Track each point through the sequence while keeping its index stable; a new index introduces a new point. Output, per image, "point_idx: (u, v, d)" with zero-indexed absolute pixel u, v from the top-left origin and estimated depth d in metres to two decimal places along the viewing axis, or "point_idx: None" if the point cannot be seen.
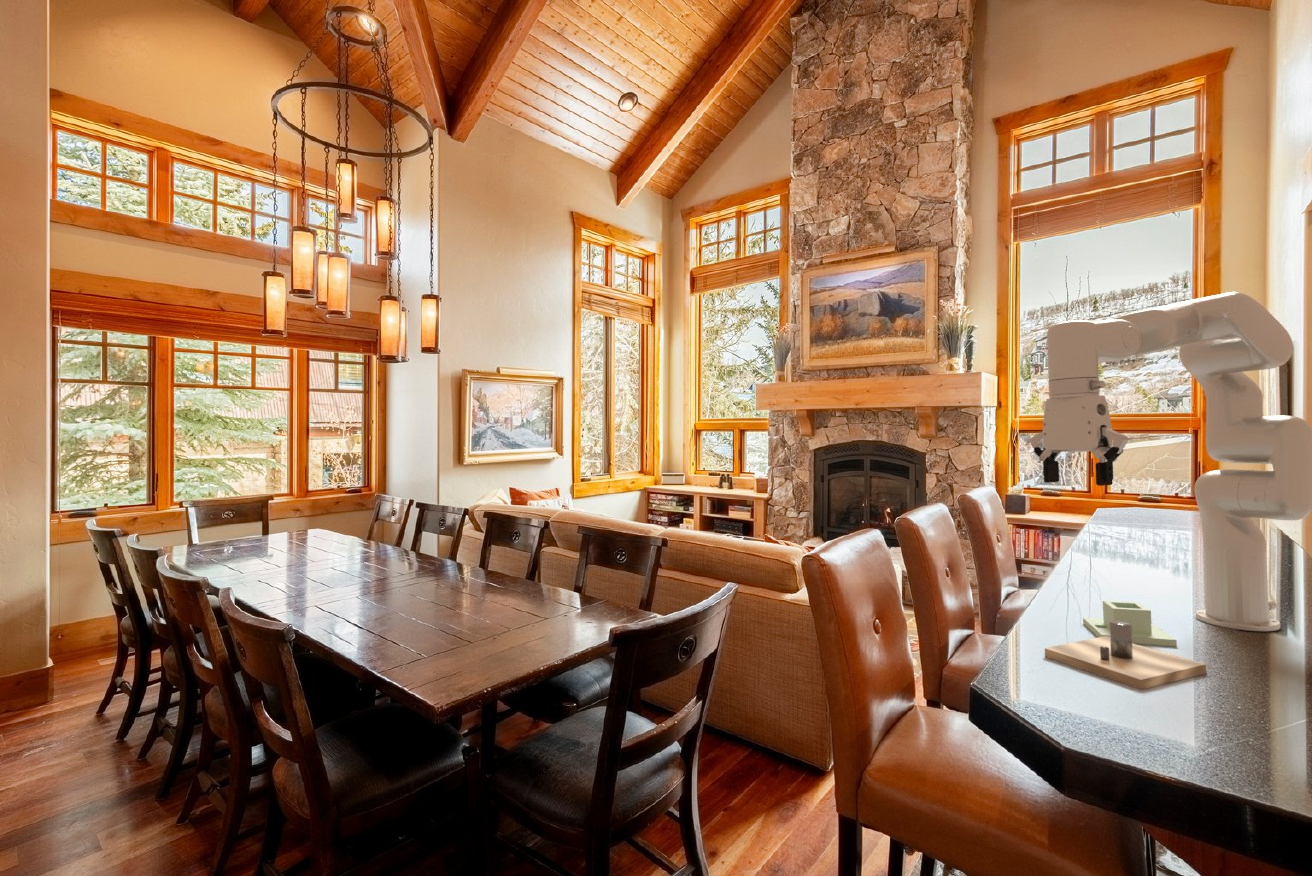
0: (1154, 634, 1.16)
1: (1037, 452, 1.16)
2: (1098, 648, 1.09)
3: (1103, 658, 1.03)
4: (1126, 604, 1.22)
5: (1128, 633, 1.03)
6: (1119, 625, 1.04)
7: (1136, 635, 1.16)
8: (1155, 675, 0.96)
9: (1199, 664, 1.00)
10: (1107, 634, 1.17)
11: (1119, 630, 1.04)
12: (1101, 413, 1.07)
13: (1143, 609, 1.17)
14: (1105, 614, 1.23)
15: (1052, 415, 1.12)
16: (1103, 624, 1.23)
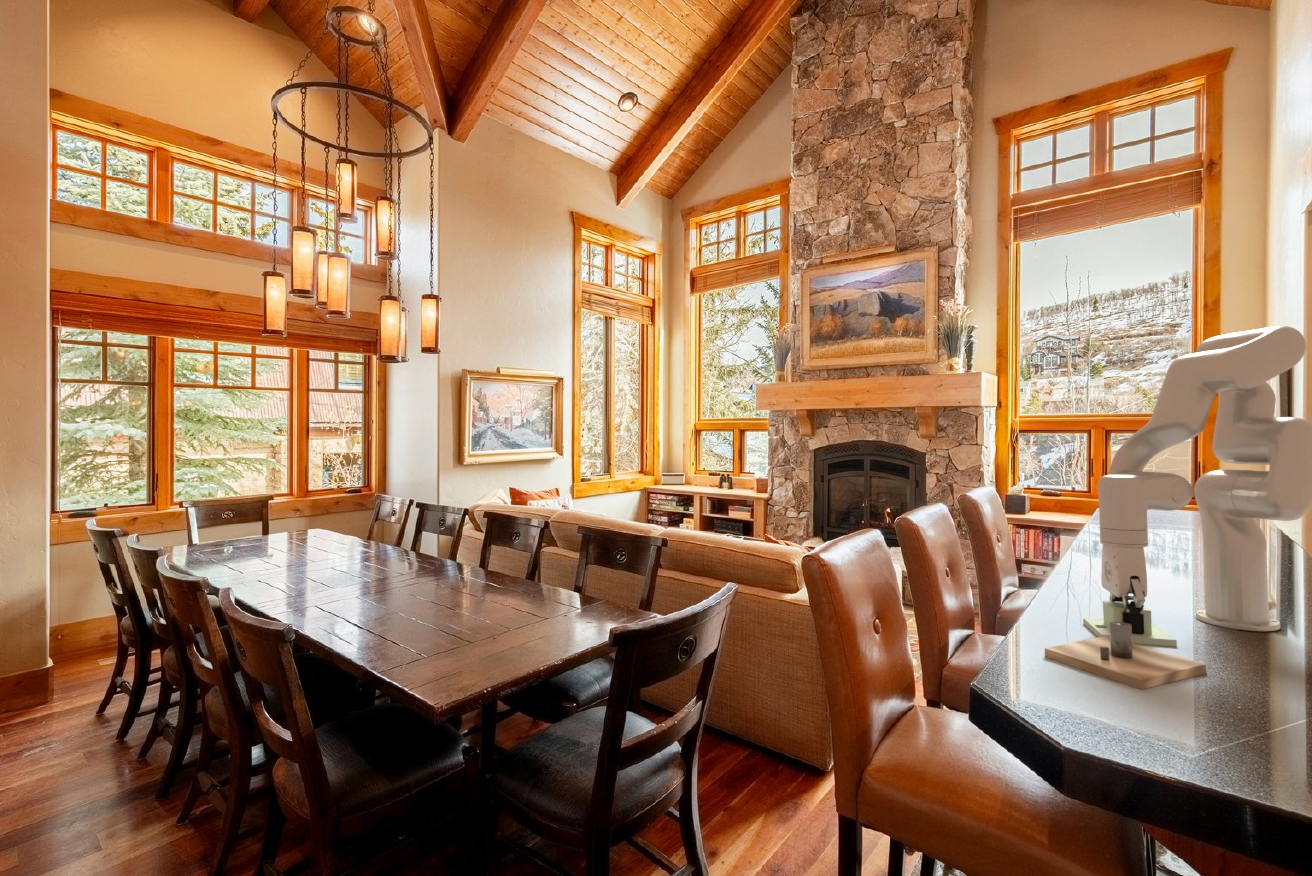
0: (1154, 634, 1.16)
1: None
2: (1098, 648, 1.09)
3: (1103, 658, 1.03)
4: None
5: (1128, 633, 1.03)
6: (1119, 625, 1.04)
7: (1136, 635, 1.16)
8: (1155, 675, 0.96)
9: (1199, 664, 1.00)
10: (1107, 634, 1.17)
11: (1119, 630, 1.04)
12: None
13: None
14: (1105, 614, 1.23)
15: None
16: (1103, 624, 1.23)
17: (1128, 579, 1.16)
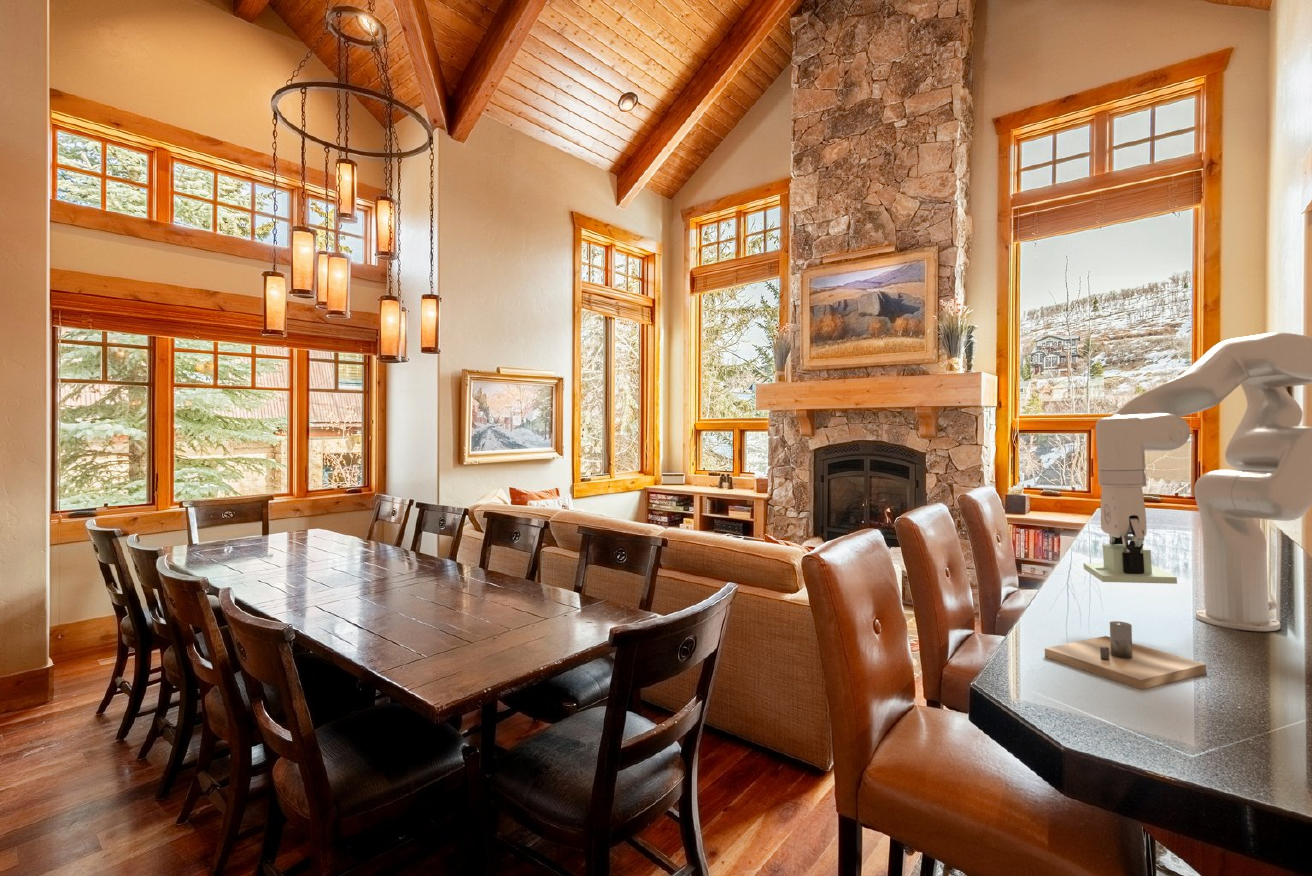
0: (1154, 573, 1.16)
1: None
2: (1098, 648, 1.09)
3: (1103, 658, 1.03)
4: None
5: (1128, 633, 1.03)
6: (1119, 625, 1.04)
7: (1136, 575, 1.16)
8: (1155, 675, 0.96)
9: (1199, 664, 1.00)
10: (1107, 575, 1.17)
11: (1119, 630, 1.04)
12: None
13: (1143, 549, 1.17)
14: (1105, 557, 1.23)
15: None
16: (1103, 567, 1.23)
17: (1127, 519, 1.16)
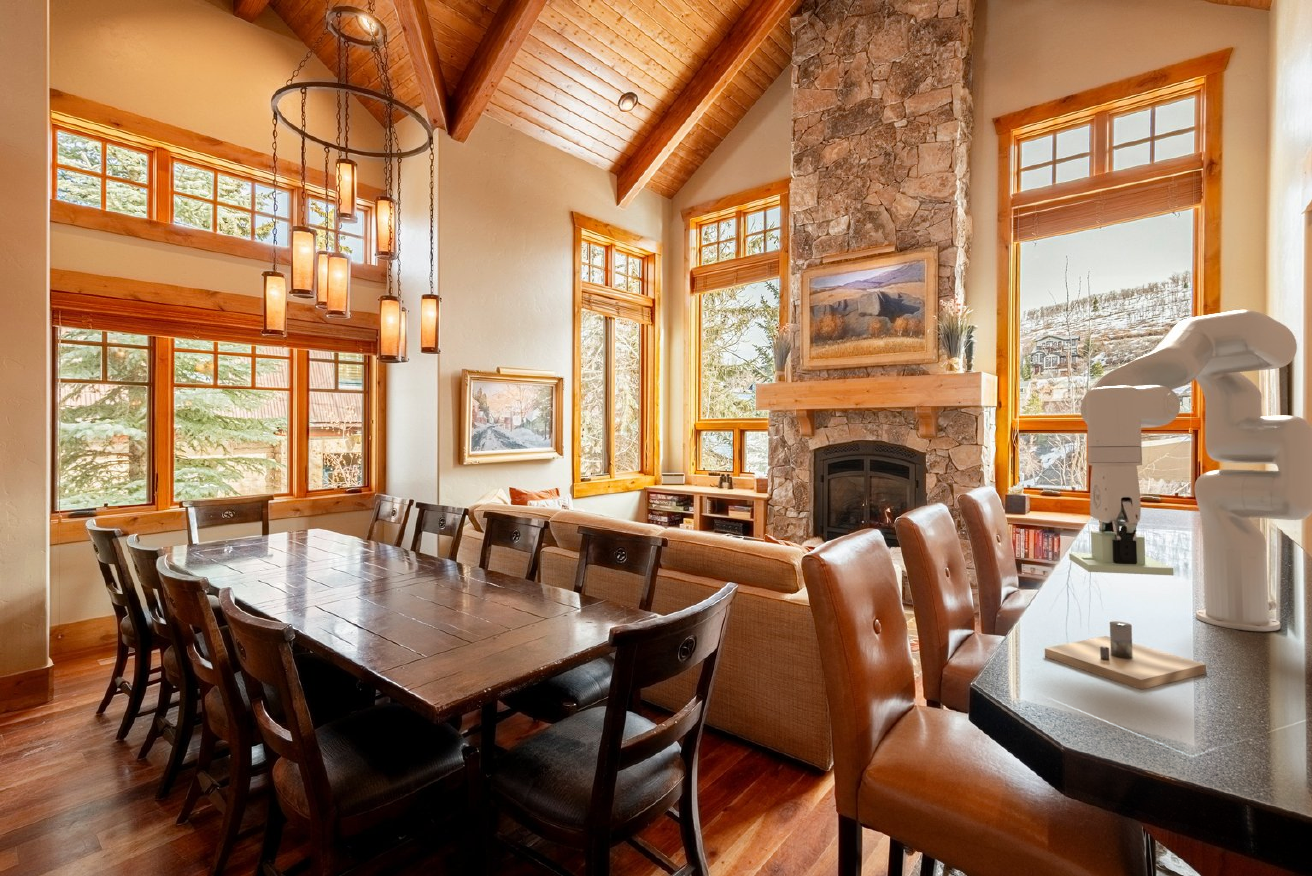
0: (1148, 564, 1.02)
1: None
2: (1098, 648, 1.09)
3: (1103, 658, 1.03)
4: None
5: (1128, 633, 1.03)
6: (1119, 625, 1.04)
7: (1127, 565, 1.02)
8: (1155, 675, 0.96)
9: (1199, 664, 1.00)
10: (1094, 564, 1.03)
11: (1119, 630, 1.04)
12: None
13: None
14: (1093, 546, 1.09)
15: None
16: (1091, 557, 1.09)
17: (1119, 501, 1.02)
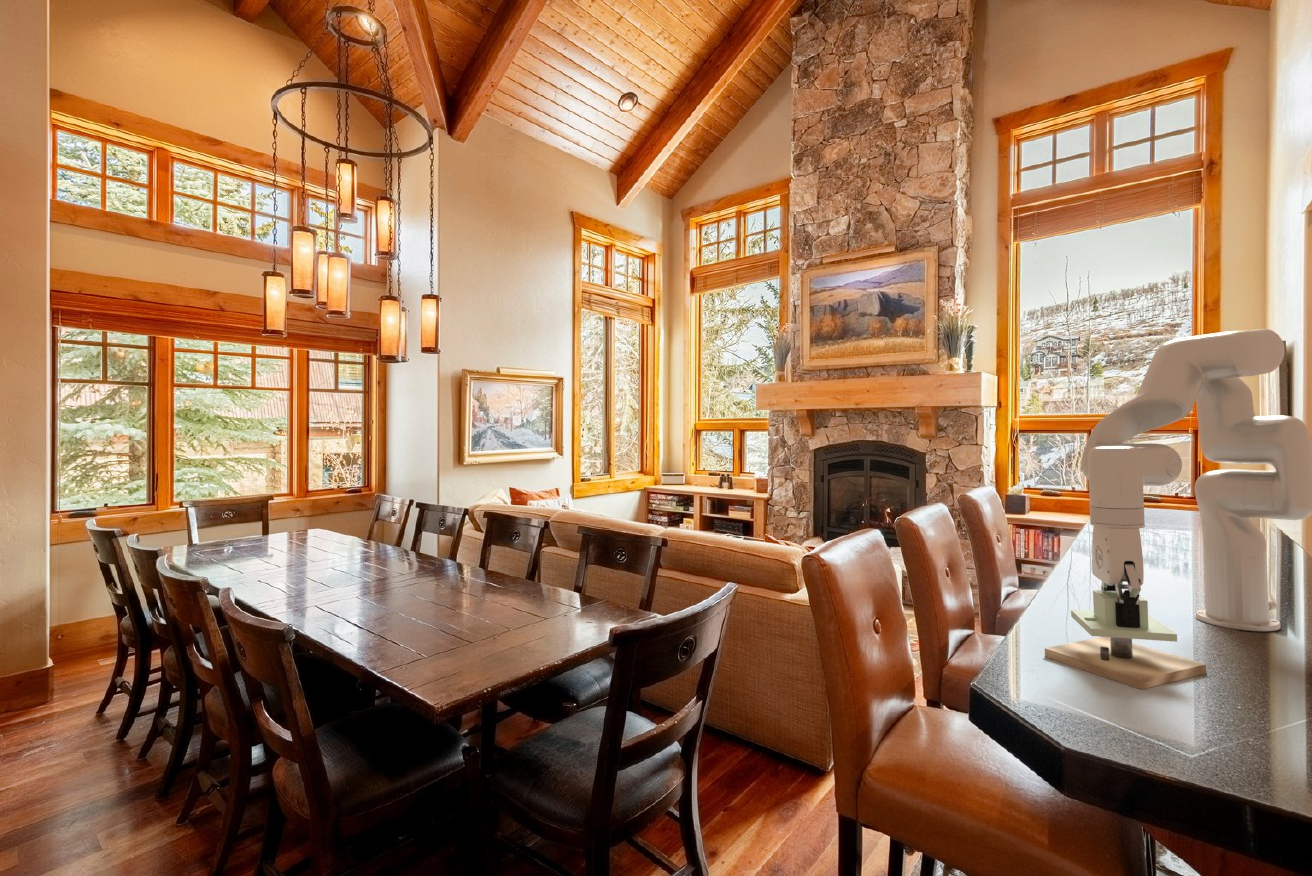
0: (1151, 628, 1.01)
1: None
2: (1098, 648, 1.09)
3: (1103, 658, 1.03)
4: None
5: None
6: None
7: (1130, 629, 1.00)
8: (1155, 675, 0.96)
9: (1199, 664, 1.00)
10: (1097, 628, 1.02)
11: None
12: None
13: (1139, 599, 1.02)
14: (1095, 606, 1.08)
15: None
16: (1093, 617, 1.08)
17: (1122, 565, 1.00)
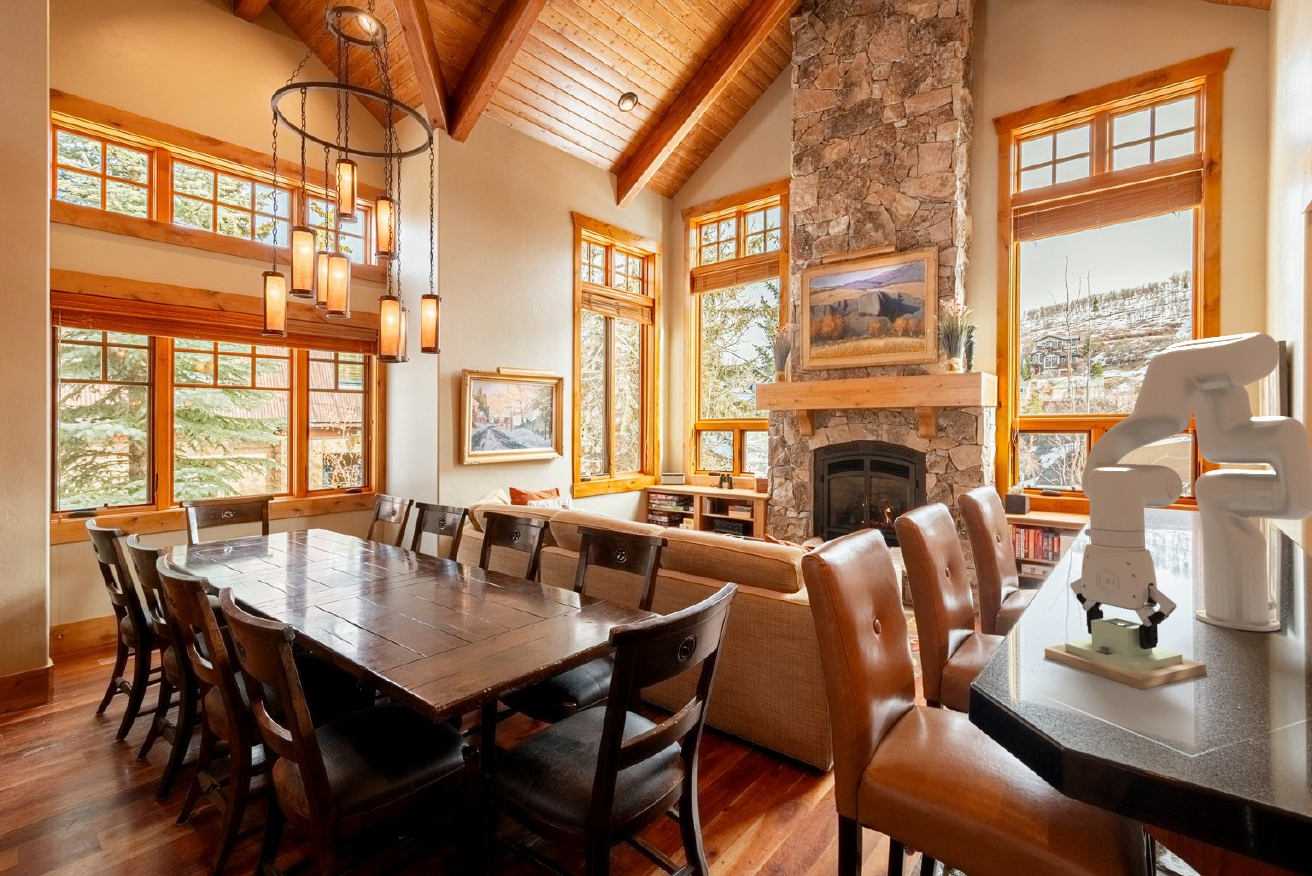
0: (1154, 651, 1.03)
1: None
2: None
3: None
4: (1111, 620, 1.07)
5: None
6: (1119, 625, 1.04)
7: (1151, 657, 1.00)
8: (1155, 675, 0.96)
9: (1199, 664, 1.00)
10: (1135, 662, 0.98)
11: None
12: None
13: None
14: (1097, 636, 1.06)
15: None
16: (1098, 648, 1.05)
17: (1147, 588, 1.00)
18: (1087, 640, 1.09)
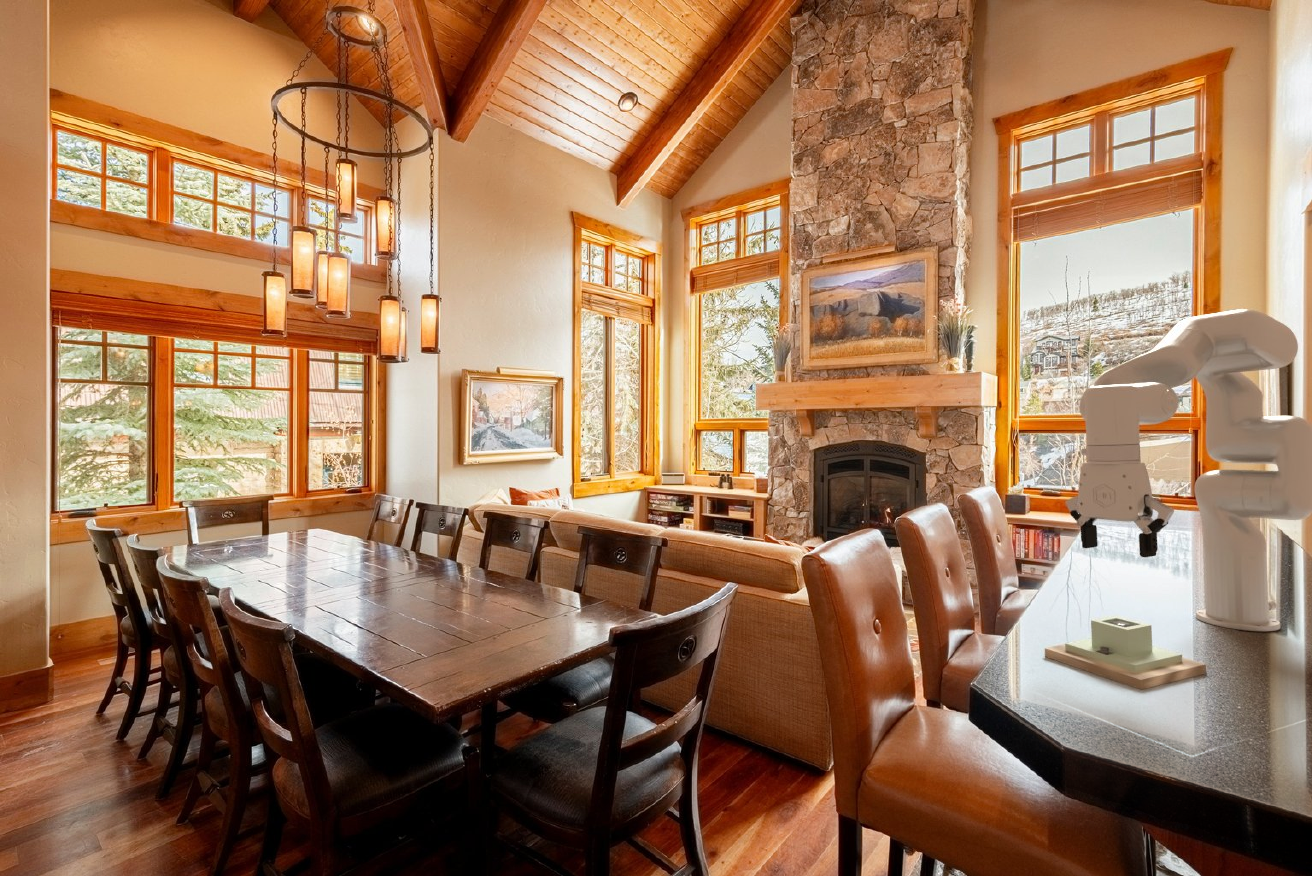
0: (1154, 651, 1.03)
1: None
2: None
3: None
4: (1111, 620, 1.07)
5: None
6: (1119, 625, 1.04)
7: (1151, 657, 1.00)
8: (1155, 675, 0.96)
9: (1199, 664, 1.00)
10: (1135, 662, 0.98)
11: None
12: None
13: (1143, 624, 1.03)
14: (1097, 636, 1.06)
15: None
16: (1098, 648, 1.05)
17: (1142, 499, 1.02)
18: (1087, 640, 1.09)
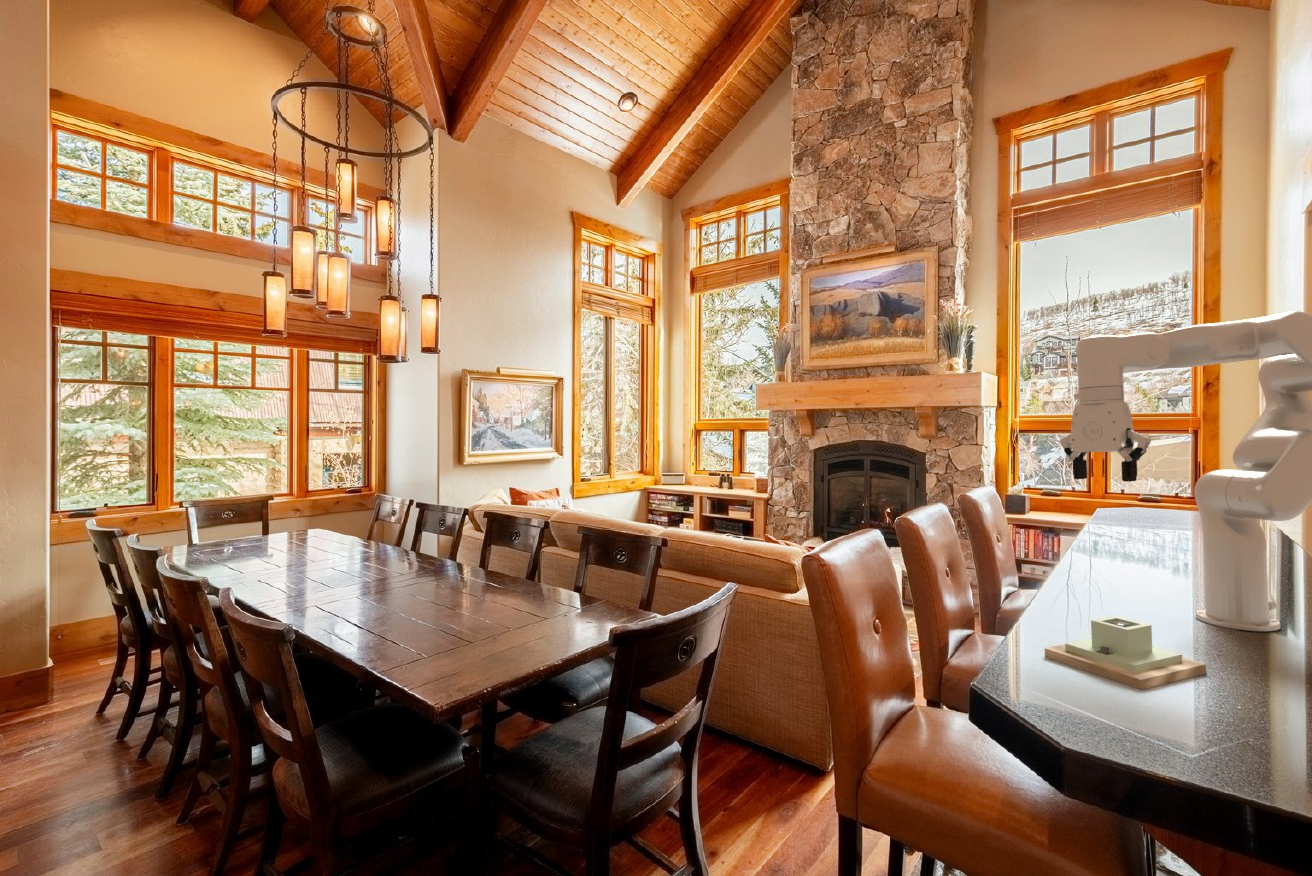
0: (1154, 651, 1.03)
1: None
2: None
3: None
4: (1111, 620, 1.07)
5: None
6: (1119, 625, 1.04)
7: (1151, 657, 1.00)
8: (1155, 675, 0.96)
9: (1199, 664, 1.00)
10: (1135, 662, 0.98)
11: None
12: None
13: (1143, 624, 1.03)
14: (1097, 636, 1.06)
15: None
16: (1098, 648, 1.05)
17: (1125, 431, 1.19)
18: (1087, 640, 1.09)
